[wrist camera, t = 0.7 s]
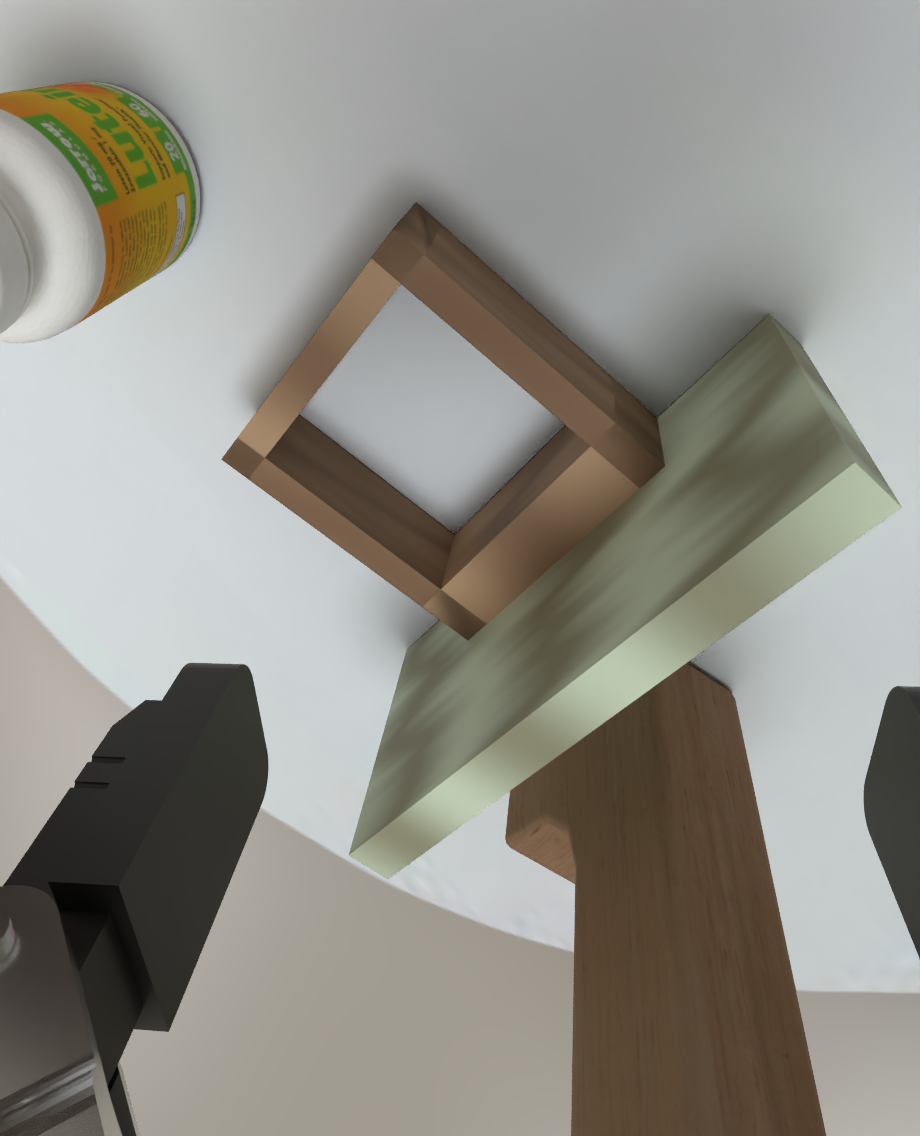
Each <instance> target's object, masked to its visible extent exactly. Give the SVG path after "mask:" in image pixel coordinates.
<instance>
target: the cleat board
mask: <svg viewBox="0 0 920 1136" xmlns="http://www.w3.org/2000/svg"><path fill="white" fill-rule="evenodd" d="M400 284H402V285H403V286H404V287H405V288H406V289H408V290H409V291H410V292H411V293H412V294H413V295H415V296H416V297H417V298H418V299H419V300H420V301H422V302H423V303H424V304H425V305H426V306H427V307H429V308H430V309H431V310H432V311H433V312H434V313H436V314H437V315H438V316H439V317H440V318H441V319H443V320H444V321H445V322H446V323H447V324H448V325H450V326H451V327H452V328H453V329H454V330H455V331H457V332H458V333H459V334H460V335H461V336H462V337H464V338H465V339H466V340H467V341H468V342H469V343H471V344H472V345H473V346H474V347H475V348H476V349H478V350H479V351H480V352H481V353H482V354H483V355H485V356H486V357H487V358H488V359H489V360H490V361H492V362H493V363H494V364H495V365H496V366H497V367H499V368H500V369H501V370H502V371H503V372H504V373H506V374H507V375H508V376H509V377H510V378H511V379H513V380H514V381H515V382H516V383H517V384H518V385H520V386H521V387H522V388H523V389H524V390H525V391H527V392H528V393H529V394H530V395H531V396H532V397H534V398H535V399H536V400H537V401H538V402H539V403H541V404H542V405H543V406H544V407H545V408H546V409H548V410H549V411H550V412H551V413H552V414H553V415H555V416H556V417H557V418H558V419H559V420H560V421H562V422H563V423H564V424H565V426H564V427H563V428H562V429H561V430H560V431H559V432H558V433H557V434H556V435H555V436H554V437H553V438H552V439H551V440H550V441H549V442H548V443H547V444H546V445H545V446H544V447H543V448H542V449H541V450H540V451H539V452H538V453H537V454H536V455H535V456H534V457H533V458H532V459H531V460H530V461H529V462H528V463H527V464H526V465H525V466H524V467H523V468H522V469H521V470H520V471H519V472H518V473H517V474H516V475H515V476H514V477H513V478H512V479H511V480H510V481H509V482H508V483H507V484H506V485H505V486H504V487H503V488H502V489H501V490H500V491H499V492H498V493H497V494H496V495H495V496H494V497H493V498H492V499H491V500H489V501H488V502H487V503H486V504H485V505H484V506H483V507H482V508H481V509H480V510H479V511H478V512H477V513H476V514H475V515H474V516H473V517H472V518H471V519H470V520H469V521H468V522H467V523H466V524H465V525H464V526H463V527H462V528H461V529H460V530H459V531H458V532H457V533H456V534H455V535H454V534H453V533H451V532H450V531H449V530H448V529H446V528H445V527H444V526H442V525H441V524H440V523H438V522H437V521H436V520H435V519H433V518H432V517H431V516H429V515H428V514H427V513H426V512H424V511H423V510H422V509H420V508H419V507H418V506H417V505H415V504H414V503H413V502H411V501H410V500H409V499H407V498H406V497H405V496H404V495H402V494H401V493H400V492H398V491H397V490H396V489H395V488H393V487H392V486H391V485H389V484H388V483H387V482H386V481H384V480H383V479H382V478H380V477H379V476H378V475H376V474H375V473H374V472H373V471H371V470H370V469H369V468H367V467H366V466H365V465H364V464H362V463H361V462H360V461H358V460H357V459H356V458H355V457H353V456H352V455H351V454H349V453H348V452H347V451H345V450H344V449H343V448H342V447H340V446H339V445H338V444H336V443H335V442H334V441H333V440H331V439H330V438H329V437H327V436H326V435H325V434H324V433H322V432H321V431H320V430H318V429H317V428H316V427H314V426H313V425H312V424H311V423H309V422H308V421H307V420H305V419H304V418H303V417H302V416H300V415H299V414H300V412H301V411H302V410H303V408H304V407H305V406H306V405H307V403H308V402H309V401H310V399H311V398H312V397H313V396H314V394H315V393H316V392H317V390H318V389H319V388H320V387H321V385H322V384H323V383H324V382H325V380H326V379H327V378H328V376H329V375H330V374H331V373H332V371H333V370H334V369H335V367H336V366H337V365H338V364H339V362H340V361H341V360H342V358H343V357H344V356H345V355H346V353H347V352H348V351H349V350H350V348H351V347H352V346H353V344H354V343H355V342H356V341H357V339H358V338H359V337H360V335H361V334H362V333H363V332H364V330H365V329H366V328H367V326H368V325H369V324H370V323H371V321H372V320H373V319H374V318H375V316H376V315H377V314H378V312H379V311H380V310H381V309H382V307H383V306H384V305H385V303H386V302H387V301H388V300H389V298H390V297H391V296H392V295H393V293H394V292H395V291H396V289H397V288H398V287H399V286H400ZM222 460H223V461H224V462H226V463H227V464H228V465H230V466H231V467H233V468H234V469H235V470H237V471H238V472H239V473H241V474H242V475H243V476H245V477H246V478H247V479H249V480H250V481H252V482H253V483H254V484H256V485H257V486H258V487H260V488H261V489H262V490H264V491H265V492H267V493H268V494H269V495H271V496H272V497H273V498H275V499H276V500H277V501H279V502H280V503H281V504H283V505H284V506H286V507H287V508H288V509H290V510H291V511H292V512H294V513H295V514H296V515H298V516H299V517H301V518H302V519H303V520H305V521H306V522H307V523H309V524H310V525H311V526H313V527H314V528H315V529H317V530H318V531H320V532H321V533H322V534H324V535H325V536H326V537H328V538H329V539H330V540H332V541H333V542H334V543H336V544H337V545H339V546H340V547H341V548H343V549H344V550H345V551H347V552H348V553H349V554H351V555H352V556H354V557H355V558H356V559H358V560H359V561H360V562H362V563H363V564H364V565H366V566H367V567H368V568H370V569H371V570H373V571H374V572H375V573H377V574H378V575H379V576H381V577H382V578H383V579H385V580H386V581H387V582H389V583H390V584H392V585H393V586H394V587H396V588H397V589H398V590H400V591H401V592H402V593H404V594H405V595H407V596H408V597H409V598H411V599H412V600H413V601H415V602H416V603H417V604H419V605H420V606H421V607H423V608H424V609H426V610H427V611H428V612H430V613H431V614H432V615H434V616H435V617H436V618H438V619H439V621H438V622H437V623H436V624H435V625H433V626H432V627H431V628H430V629H429V630H428V631H427V632H426V633H425V634H424V635H423V636H422V637H421V638H419V639H418V640H417V641H416V642H415V643H414V644H413V645H412V646H411V647H410V648H409V649H408V650H407V651H406V655H405V658H404V662H403V665H402V669H401V672H400V676H399V679H398V683H397V687H396V690H395V694H394V697H393V701H392V704H391V708H390V711H389V715H388V718H387V722H386V725H385V729H384V733H383V736H382V740H381V743H380V747H379V750H378V754H377V757H376V761H375V764H374V768H373V771H372V775H371V779H370V782H369V786H368V789H367V793H366V796H365V800H364V803H363V807H362V810H361V814H360V817H359V821H358V825H357V828H356V832H355V835H354V839H353V842H352V846H351V849H350V853H349V856H351V857H353V858H354V859H356V860H358V861H359V862H361V863H362V864H364V865H366V866H367V867H369V868H370V869H372V870H374V871H375V872H377V873H379V874H380V875H382V876H383V877H385V878H387V879H389V878H390V877H392V876H393V875H394V874H396V873H397V872H398V871H400V870H401V869H403V868H404V867H405V866H407V865H408V864H410V863H411V862H412V861H414V860H415V859H416V858H418V857H419V856H421V855H422V854H423V853H425V852H426V851H427V850H429V849H430V848H432V847H433V846H434V845H436V844H437V843H439V842H440V841H441V840H443V839H444V838H445V837H447V836H448V835H450V834H451V833H452V832H454V831H455V830H457V829H458V828H459V827H461V826H462V825H463V824H465V823H466V822H468V821H469V820H470V819H472V818H473V817H474V816H476V815H477V814H479V813H480V812H481V811H483V810H484V809H486V808H487V807H488V806H490V805H491V804H492V803H494V802H495V801H497V800H498V799H499V798H501V797H502V796H503V795H505V794H506V793H508V792H509V791H510V790H512V789H513V788H515V787H516V786H517V785H519V784H520V783H521V782H523V781H524V780H526V779H527V778H528V777H530V776H531V775H533V774H534V773H535V772H537V771H538V770H539V769H541V768H542V767H544V766H545V765H546V764H548V763H549V762H550V761H552V760H553V759H555V758H556V757H557V756H559V755H560V754H562V753H563V752H564V751H566V750H567V749H568V748H570V747H571V746H573V745H574V744H575V743H577V742H578V741H579V740H581V739H582V738H584V737H585V736H586V735H588V734H589V733H591V732H592V731H593V730H595V729H596V728H597V727H599V726H600V725H602V724H603V723H604V722H606V721H607V720H608V719H610V718H611V717H613V716H614V715H615V714H617V713H618V712H620V711H621V710H622V709H624V708H625V707H626V706H628V705H629V704H631V703H632V702H633V701H635V700H636V699H638V698H639V697H640V696H642V695H643V694H644V693H646V692H647V691H649V690H650V689H651V688H653V687H654V686H655V685H657V684H658V683H660V682H661V681H662V680H664V679H665V678H667V677H668V676H669V675H671V674H672V673H673V672H675V671H676V670H678V669H679V668H680V667H682V666H683V665H684V664H686V663H687V662H689V661H690V660H691V659H693V658H694V657H696V656H697V655H698V654H700V653H701V652H702V651H704V650H705V649H707V648H708V647H709V646H711V645H712V644H713V643H715V642H716V641H718V640H719V639H720V638H722V637H723V636H725V635H726V634H727V633H729V632H730V631H731V630H733V629H734V628H736V627H737V626H738V625H740V624H741V623H743V622H744V621H745V620H747V619H748V618H749V617H751V616H752V615H754V614H755V613H756V612H758V611H759V610H760V609H762V608H763V607H765V606H766V605H767V604H769V603H770V602H772V601H773V600H774V599H776V598H777V597H778V596H780V595H781V594H783V593H784V592H785V591H787V590H788V589H789V588H791V587H792V586H794V585H795V584H796V583H798V582H799V581H801V580H802V579H803V578H805V577H806V576H807V575H809V574H810V573H812V572H813V571H814V570H816V569H817V568H819V567H820V566H821V565H823V564H824V563H825V562H827V561H828V560H830V559H831V558H832V557H834V556H835V555H836V554H838V553H839V552H841V551H842V550H843V549H845V548H846V547H848V546H849V545H850V544H852V543H853V542H854V541H856V540H857V539H859V538H860V537H861V536H863V535H864V534H865V533H867V532H868V531H870V530H871V529H872V528H874V527H875V526H877V525H878V524H879V523H881V522H882V521H883V520H885V519H886V518H888V517H889V516H890V515H892V514H893V513H894V512H896V511H897V510H899V509H900V508H901V505H900V504H899V502H898V500H897V499H896V497H895V495H894V494H893V492H892V491H891V489H890V487H889V486H888V484H887V483H886V481H885V479H884V478H883V476H882V474H881V473H880V471H879V470H878V468H877V466H876V465H875V463H874V462H873V460H872V458H871V457H870V455H869V453H868V452H867V450H866V449H865V447H864V445H863V444H862V442H861V441H860V439H859V437H858V436H857V434H856V432H855V431H854V429H853V428H852V426H851V424H850V423H849V421H848V419H847V418H846V416H845V415H844V413H843V411H842V410H841V408H840V407H839V405H838V403H837V402H836V400H835V398H834V397H833V395H832V394H831V392H830V390H829V389H828V387H827V386H826V384H825V382H824V381H823V379H822V377H821V376H820V374H819V373H818V371H817V369H816V368H815V366H814V365H813V363H812V361H811V360H810V358H809V356H808V355H807V353H806V352H805V350H804V348H803V347H802V346H801V345H800V344H799V343H798V342H797V341H796V340H795V339H794V338H793V337H792V336H791V335H790V334H789V333H788V332H787V331H786V330H785V329H784V328H783V327H782V326H781V325H780V324H779V323H778V322H777V321H776V320H775V319H774V318H773V317H772V316H771V315H770V314H769V315H768V316H767V317H766V318H765V319H764V320H763V321H761V322H760V323H759V324H758V325H757V326H756V327H755V328H754V329H753V330H752V331H751V332H750V333H749V334H747V335H746V336H745V337H744V338H743V339H742V340H741V341H740V342H739V343H738V344H737V345H736V346H735V347H733V348H732V349H731V350H730V351H729V352H728V353H727V354H726V355H725V356H724V357H723V358H722V359H720V360H719V361H718V362H717V363H716V364H715V365H714V366H713V367H712V368H711V369H710V370H709V371H708V372H706V373H705V374H704V375H703V376H702V377H701V378H700V379H699V380H698V381H697V382H696V383H695V384H694V385H692V386H691V387H690V388H689V389H688V390H687V391H686V392H685V393H684V394H683V395H682V396H681V397H679V398H678V399H677V400H676V401H675V402H674V403H673V404H672V405H671V406H670V407H669V408H668V409H667V410H665V411H664V412H663V413H662V414H661V415H660V416H659V417H658V418H657V417H656V416H654V415H653V414H652V413H651V412H650V411H649V410H648V409H647V408H646V407H644V406H643V405H642V404H641V403H640V402H639V401H638V400H637V399H635V398H634V397H633V396H632V395H631V394H630V393H629V392H628V391H627V390H625V389H624V388H623V387H622V386H621V385H620V384H619V383H618V382H616V381H615V380H614V379H613V378H612V377H611V376H610V375H609V374H608V373H606V372H605V371H604V370H603V369H602V368H601V367H600V366H599V365H597V364H596V363H595V362H594V361H593V360H592V359H591V358H590V357H589V356H587V355H586V354H585V353H584V352H583V351H582V350H581V349H580V348H578V347H577V346H576V345H575V344H574V343H573V342H572V341H571V340H570V339H568V338H567V337H566V336H565V335H564V334H563V333H562V332H561V331H559V330H558V329H557V328H556V327H555V326H554V325H553V324H552V323H551V322H549V321H548V320H547V319H546V318H545V317H544V316H543V315H542V314H540V313H539V312H538V311H537V310H536V309H535V308H534V307H533V306H531V305H530V304H529V303H528V302H527V301H526V300H525V299H524V298H523V297H521V296H520V295H519V294H518V293H517V292H516V291H515V290H514V289H512V288H511V287H510V286H509V285H508V284H507V283H506V282H505V281H504V280H502V279H501V278H500V277H499V276H498V275H497V274H496V273H495V272H493V271H492V270H491V269H490V268H489V267H488V266H487V265H486V264H485V263H483V262H482V261H481V260H480V259H479V258H478V257H477V256H476V255H474V254H473V253H472V252H471V251H470V250H469V249H468V248H467V247H466V246H464V245H463V244H462V243H461V242H460V241H459V240H458V239H457V238H455V237H454V236H453V235H452V234H451V233H450V232H449V231H448V230H447V229H445V228H444V227H443V226H442V225H441V224H440V223H439V222H438V221H436V220H435V219H434V218H433V217H432V216H431V215H430V214H429V213H428V212H426V211H425V210H424V209H423V208H422V207H421V206H420V205H419V204H417V203H415V204H414V205H413V207H412V208H411V209H410V210H409V211H408V212H407V214H406V215H405V216H404V217H403V218H402V219H401V220H400V222H399V223H398V224H397V225H396V226H395V227H394V228H393V230H392V231H391V232H390V234H389V235H388V237H387V238H386V239H385V241H384V242H383V243H382V245H381V246H380V247H379V249H378V250H377V251H376V253H375V254H374V255H373V257H372V258H371V259H370V261H369V262H368V263H367V265H366V266H365V267H364V269H363V270H362V271H361V273H360V274H359V275H358V277H357V278H356V279H355V281H354V282H353V283H352V285H351V286H350V287H349V289H348V290H347V292H346V293H345V294H344V296H343V297H342V298H341V300H340V301H339V302H338V304H337V305H336V306H335V308H334V309H333V310H332V312H331V313H330V314H329V316H328V317H327V318H326V320H325V321H324V322H323V324H322V325H321V326H320V328H319V329H318V330H317V332H316V333H315V334H314V336H313V337H312V338H311V340H310V341H309V342H308V344H307V345H306V347H305V348H304V349H303V351H302V352H301V353H300V355H299V356H298V357H297V359H296V360H295V361H294V363H293V364H292V365H291V367H290V368H289V369H288V371H287V372H286V373H285V375H284V376H283V377H282V379H281V380H280V381H279V383H278V384H277V385H276V387H275V388H274V389H273V391H272V392H271V393H270V395H269V396H268V398H267V399H266V400H265V402H264V403H263V404H262V406H261V407H260V408H259V410H258V411H257V412H256V414H255V415H254V416H253V418H252V419H251V420H250V422H249V423H248V424H247V426H246V427H245V428H244V430H243V431H242V432H241V434H240V435H239V436H238V438H237V439H236V440H235V442H234V443H233V444H232V446H231V447H230V448H229V450H228V451H227V453H226V454H225V455H224V457H223V458H222Z"/></svg>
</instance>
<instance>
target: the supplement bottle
mask: <svg viewBox="0 0 920 1136" xmlns="http://www.w3.org/2000/svg"><path fill="white" fill-rule="evenodd" d="M199 215H200V188H199V181H198V176H197V173H196V169H195V166H194V163H193V160H192V158H191V155H190V153H189V151H188V149H187V147H186V145H185V143H184V142H183V140H182V138H181V137H180V135H179V134H178V132H177V131H176V129H175V128H174V127H173V126H172V124H171V123H170V122H169V121H168V120H167V119H166V117H165V116H164V115H163V114H162V113H161V112H159V111H158V110H157V109H156V108H155V107H154V106H153V105H151V104H150V103H149V102H147V101H146V100H144V99H143V98H141V97H140V96H138V95H136V94H134V93H132V92H131V91H128V90H126V89H124V88H121V87H118V86H115V85H111V84H107V83H101V82H79V83H68V84H61V85H55V86H48V87H41V88H35V89H29V90H22V91H14V92H8V93H2V94H0V342H7V343H29V342H36V341H41V340H44V339H48V338H51V337H53V336H55V335H58V334H60V333H62V332H64V331H66V330H68V329H70V328H71V327H73V326H75V325H77V324H78V323H80V322H81V321H83V320H85V319H86V318H88V317H89V316H91V315H92V314H94V313H96V312H97V311H99V310H100V309H102V308H104V307H105V306H107V305H108V304H110V303H112V302H113V301H115V300H116V299H118V298H120V297H121V296H123V295H124V294H126V293H128V292H129V291H131V290H132V289H134V288H136V287H137V286H139V285H140V284H142V283H144V282H145V281H147V280H149V279H150V278H152V277H154V276H156V275H157V274H159V273H160V272H162V271H163V270H165V269H167V268H168V267H169V266H170V265H172V264H173V263H174V262H175V261H177V260H178V258H179V257H180V256H181V255H182V254H183V253H184V252H185V250H186V249H187V248H188V246H189V244H190V243H191V241H192V239H193V237H194V234H195V231H196V229H197V225H198V221H199Z"/></svg>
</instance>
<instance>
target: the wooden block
mask: <svg viewBox="0 0 920 1136" xmlns="http://www.w3.org/2000/svg"><path fill="white" fill-rule="evenodd" d="M505 839H506V843H507V844H508V845H509V847H510V848H512V849H514V850H515V851H517V852H519V853H521V854H523V855H524V856H526V857H528V858H530V859H531V860H533V861H535V862H537V863H539V864H540V865H542V866H544V867H546V868H547V869H549V870H551V871H553V872H555V873H556V874H558V875H560V876H562V877H563V878H565V879H567V880H569V881H571V882H572V883H574V884H575V936H574V999H573V1000H574V1001H573V1059H572V1061H573V1062H572V1120H571V1122H572V1123H571V1136H826V1133H825V1128H824V1123H823V1118H822V1113H821V1109H820V1104H819V1099H818V1094H817V1089H816V1085H815V1080H814V1075H813V1070H812V1066H811V1061H810V1056H809V1051H808V1047H807V1042H806V1037H805V1032H804V1027H803V1022H802V1018H801V1013H800V1008H799V1003H798V999H797V995H796V989H795V984H794V979H793V975H792V970H791V965H790V960H789V955H788V951H787V946H786V941H785V936H784V931H783V927H782V922H781V917H780V912H779V908H778V903H777V898H776V893H775V888H774V884H773V879H772V874H771V869H770V864H769V860H768V855H767V850H766V845H765V840H764V835H763V831H762V826H761V821H760V816H759V811H758V807H757V802H756V797H755V792H754V787H753V783H752V778H751V773H750V768H749V763H748V759H747V754H746V749H745V744H744V740H743V735H742V730H741V725H740V721H739V716H738V711H737V706H736V702H735V698H734V697H733V695H732V693H731V692H730V691H729V690H727V689H726V688H724V687H723V686H721V685H720V684H718V683H716V682H715V681H713V680H712V679H710V678H709V677H707V676H706V675H704V674H703V673H701V672H700V671H698V670H697V669H695V668H693V667H692V666H690V665H689V664H687V663H686V664H684V665H683V666H682V667H680V668H679V669H678V670H676V671H675V672H673V673H672V674H671V675H669V676H668V677H667V678H665V679H664V680H662V681H661V682H660V683H658V684H657V685H655V686H654V687H653V688H651V689H650V690H649V691H647V692H646V693H644V694H643V695H642V696H640V697H639V698H638V699H636V700H635V701H633V702H632V703H631V704H629V705H628V706H626V707H625V708H624V709H622V710H621V711H620V712H618V713H617V714H615V715H614V716H613V717H611V718H610V719H608V720H607V721H606V722H604V723H603V724H602V725H600V726H599V727H597V728H596V729H595V730H593V731H592V732H591V733H589V734H588V735H586V736H585V737H584V738H582V739H581V740H579V741H578V742H577V743H575V744H574V745H573V746H571V747H570V748H568V749H567V750H566V751H564V752H563V753H562V754H560V755H559V756H557V757H556V758H555V759H553V760H552V761H550V762H549V763H548V764H546V765H545V766H544V767H542V768H541V769H539V770H538V771H537V772H535V773H534V774H533V775H531V776H530V777H528V778H527V779H526V780H524V781H523V782H521V783H520V784H519V785H517V786H516V787H515V788H513V789H512V790H510V797H509V807H508V817H507V827H506V837H505Z"/></svg>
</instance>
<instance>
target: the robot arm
mask: <svg viewBox="0 0 920 1136" xmlns="http://www.w3.org/2000/svg"><path fill="white" fill-rule="evenodd" d="M267 779H268V754H267V748H266V743H265V738H264V733H263V728H262V723H261V717H260V712H259V707H258V702H257V697H256V692H255V687H254V682H253V677H252V674H251V671H250V669H249V668H248V667H247V666H246V665H244V664H212V663H188V664H186V665H185V666H184V667H183V668H182V670H181V671H180V673H179V674H178V676H177V678H176V679H175V681H174V682H173V684H172V685H171V687H170V689H169V690H168V692H167V693H166V695H165V696H164V698H163V700H162V701H157V700H145V701H144V702H143V703H141V704H140V705H139V706H138V707H136V708H135V709H134V710H132V711H131V712H130V713H128V714H127V715H126V716H125V717H123V718H122V719H121V720H119V721H118V722H117V723H116V724H114V725H113V726H112V727H111V729H110V731H109V732H108V733H107V735H106V736H105V738H104V739H103V741H102V742H101V744H100V745H99V747H98V748H97V749H96V751H95V752H94V754H93V755H92V762H88V763H87V764H86V765H85V767H84V768H83V770H82V771H81V773H80V774H79V776H78V777H77V779H76V780H75V786H74V788H70V789H69V790H68V792H67V793H66V795H65V796H64V798H63V799H62V801H61V802H60V804H59V805H58V807H57V808H56V810H55V811H54V813H53V814H52V815H51V817H50V818H49V820H48V821H47V823H46V824H45V826H44V827H43V829H42V830H41V831H40V833H39V834H38V836H37V837H36V839H35V840H34V842H33V843H32V845H31V846H30V848H29V849H28V851H27V852H26V853H25V855H24V857H23V858H22V859H21V861H20V862H19V864H18V865H17V867H16V868H15V870H14V871H13V872H12V874H11V876H10V877H9V878H8V880H7V881H6V883H5V884H4V885H3V886H2V887H0V1136H140V1133H139V1129H138V1126H137V1122H136V1118H135V1115H134V1111H133V1107H132V1103H131V1100H130V1096H129V1092H128V1089H127V1085H126V1081H125V1077H124V1074H123V1070H122V1068H121V1065H120V1063H119V1060H120V1058H121V1056H122V1054H123V1051H124V1049H125V1047H126V1045H127V1042H128V1040H129V1038H130V1036H131V1033H132V1031H133V1029H142V1030H153V1031H166V1032H168V1031H169V1030H170V1027H171V1025H172V1022H173V1020H174V1017H175V1015H176V1013H177V1010H178V1008H179V1005H180V1003H181V1000H182V998H183V995H184V993H185V990H186V988H187V985H188V983H189V981H190V978H191V976H192V973H193V971H194V968H195V966H196V964H197V961H198V959H199V956H200V953H201V951H202V949H203V946H204V944H205V941H206V939H207V936H208V934H209V932H210V929H211V927H212V924H213V922H214V919H215V917H216V914H217V912H218V909H219V907H220V905H221V902H222V900H223V897H224V895H225V892H226V890H227V888H228V885H229V883H230V880H231V878H232V875H233V872H234V870H235V868H236V865H237V863H238V861H239V858H240V856H241V853H242V851H243V848H244V846H245V843H246V841H247V838H248V836H249V833H250V831H251V829H252V826H253V823H254V821H255V819H256V816H257V814H258V812H259V809H260V807H261V804H262V801H263V799H264V795H265V791H266V786H267ZM864 811H865V818H866V823H867V827H868V830H869V833H870V836H871V838H872V841H873V843H874V846H875V848H876V851H877V853H878V856H879V858H880V861H881V863H882V866H883V868H884V871H885V873H886V876H887V878H888V881H889V883H890V886H891V888H892V891H893V893H894V896H895V898H896V901H897V903H898V906H899V908H900V911H901V913H902V915H903V918H904V920H905V923H906V925H907V928H908V930H909V933H910V935H911V938H912V940H913V943H914V945H915V948H916V950H917V953H918V955H919V958H920V687H905V686H897V687H894V688H893V689H892V690H891V691H890V693H889V695H888V697H887V699H886V703H885V706H884V710H883V714H882V718H881V722H880V725H879V729H878V733H877V737H876V741H875V745H874V748H873V752H872V756H871V760H870V764H869V767H868V771H867V775H866V779H865V785H864Z"/></svg>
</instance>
